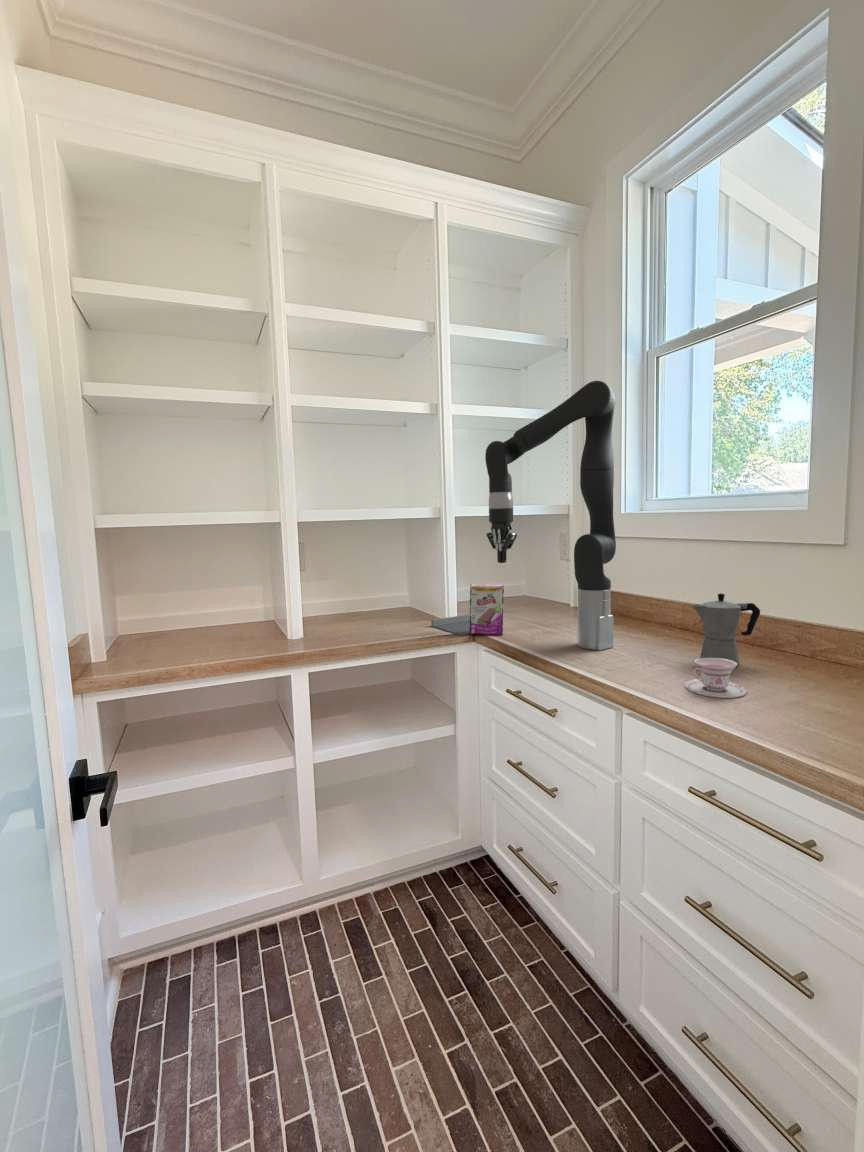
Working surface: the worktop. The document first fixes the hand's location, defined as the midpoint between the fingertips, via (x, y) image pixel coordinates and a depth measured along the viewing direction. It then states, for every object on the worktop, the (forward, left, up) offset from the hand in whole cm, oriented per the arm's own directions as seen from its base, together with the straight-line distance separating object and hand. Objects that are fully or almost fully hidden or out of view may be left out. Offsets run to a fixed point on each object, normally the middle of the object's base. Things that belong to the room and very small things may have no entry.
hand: (501, 562), depth 167 cm
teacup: (-66, -6, -25) cm, 71 cm away
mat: (+21, 0, -25) cm, 32 cm away
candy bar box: (+9, 0, -24) cm, 26 cm away
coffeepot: (-56, -27, -25) cm, 67 cm away
